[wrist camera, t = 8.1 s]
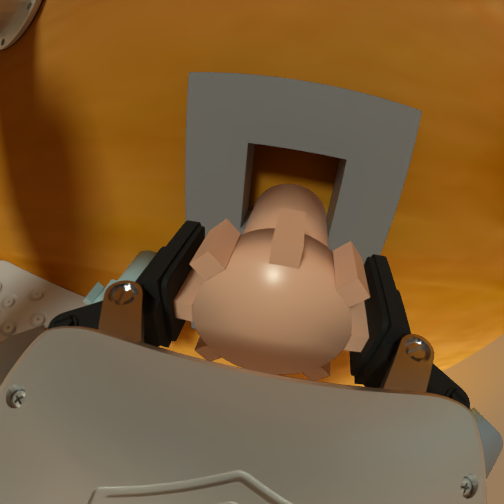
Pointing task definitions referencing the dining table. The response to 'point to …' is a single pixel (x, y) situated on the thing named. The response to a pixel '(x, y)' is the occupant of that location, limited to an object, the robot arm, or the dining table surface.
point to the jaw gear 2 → (276, 289)
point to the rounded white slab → (30, 300)
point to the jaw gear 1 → (122, 276)
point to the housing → (298, 138)
